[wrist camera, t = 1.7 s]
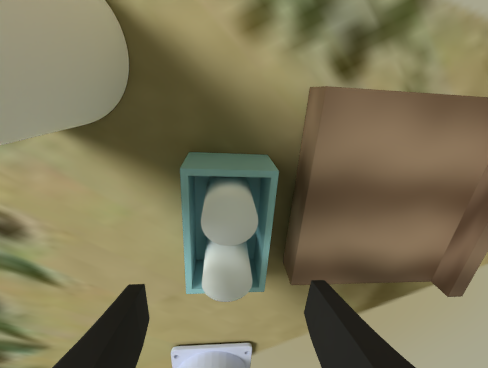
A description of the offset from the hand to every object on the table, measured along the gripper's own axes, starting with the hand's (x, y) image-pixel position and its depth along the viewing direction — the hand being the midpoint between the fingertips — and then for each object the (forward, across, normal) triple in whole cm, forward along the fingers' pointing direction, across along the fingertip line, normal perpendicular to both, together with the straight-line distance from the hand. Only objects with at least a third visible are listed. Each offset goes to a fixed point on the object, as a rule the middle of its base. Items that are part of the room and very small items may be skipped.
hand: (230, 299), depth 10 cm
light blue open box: (+8, 0, 0) cm, 8 cm away
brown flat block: (+8, -12, -2) cm, 14 cm away
